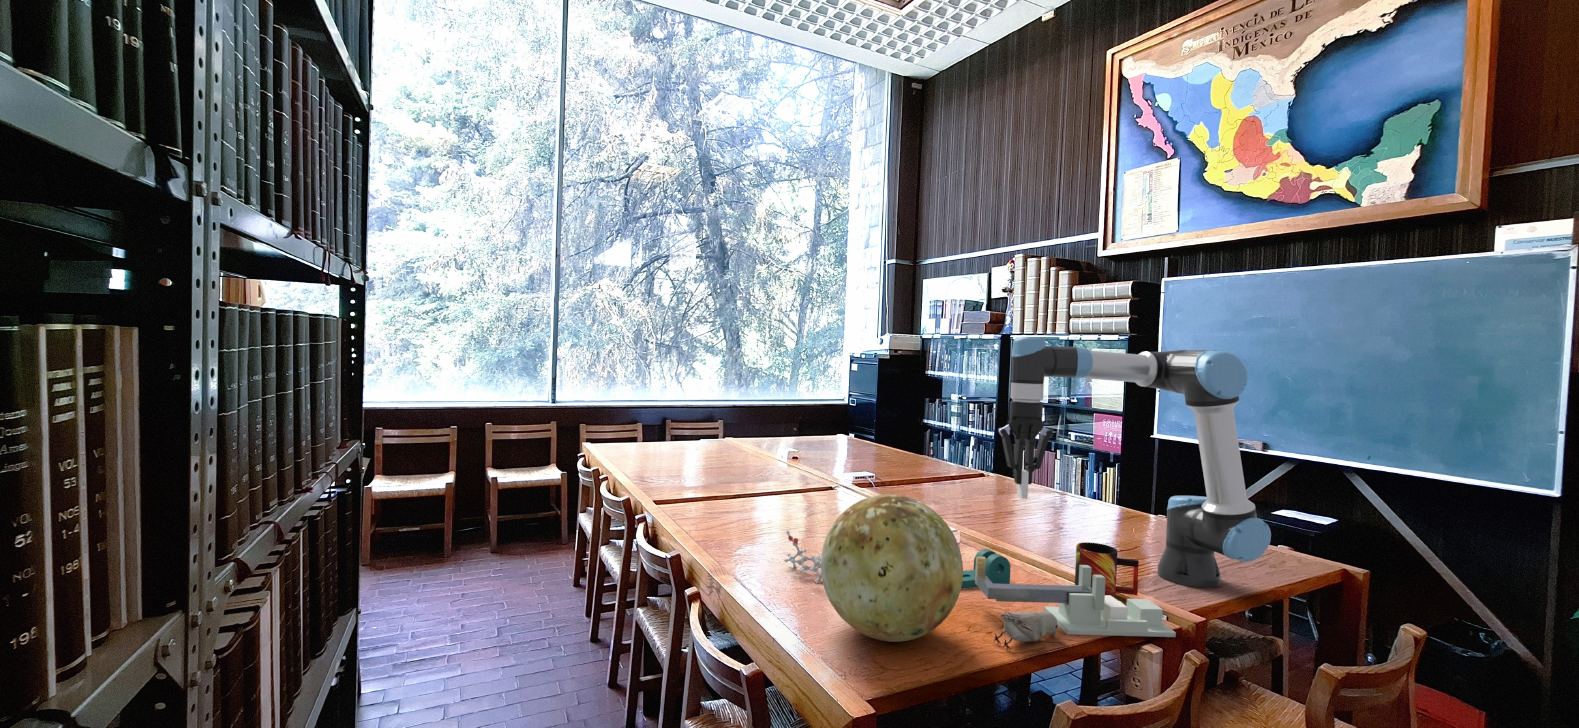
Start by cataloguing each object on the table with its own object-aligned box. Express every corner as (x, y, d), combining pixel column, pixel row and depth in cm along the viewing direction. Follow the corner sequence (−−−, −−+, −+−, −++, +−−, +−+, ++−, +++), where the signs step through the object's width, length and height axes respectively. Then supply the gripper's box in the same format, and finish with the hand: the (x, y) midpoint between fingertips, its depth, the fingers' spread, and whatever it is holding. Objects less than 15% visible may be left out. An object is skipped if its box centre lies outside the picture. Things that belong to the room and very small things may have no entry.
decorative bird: (1064, 642, 141) (1066, 607, 141) (1007, 654, 134) (1009, 618, 134) (1045, 631, 146) (1047, 598, 146) (989, 643, 139) (990, 608, 139)
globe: (862, 680, 122) (867, 519, 121) (796, 617, 149) (800, 485, 148) (990, 654, 134) (996, 508, 133) (907, 600, 161) (912, 478, 160)
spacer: (1093, 612, 155) (1109, 612, 155) (1109, 624, 148) (1126, 624, 148) (1094, 595, 155) (1110, 595, 155) (1110, 607, 148) (1127, 607, 148)
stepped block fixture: (1143, 613, 158) (1145, 563, 158) (1175, 636, 145) (1178, 583, 145) (1043, 610, 158) (1046, 560, 157) (1067, 634, 145) (1070, 580, 144)
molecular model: (845, 585, 171) (845, 548, 170) (810, 593, 167) (810, 555, 166) (811, 559, 188) (811, 525, 188) (779, 565, 184) (778, 531, 183)
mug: (1138, 599, 167) (1141, 552, 166) (1089, 602, 164) (1092, 554, 164) (1113, 585, 176) (1115, 541, 176) (1066, 587, 174) (1068, 542, 173)
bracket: (994, 576, 181) (995, 547, 181) (1009, 584, 175) (1011, 555, 175) (937, 581, 176) (938, 552, 176) (950, 590, 169) (952, 560, 169)
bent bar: (1071, 587, 160) (1072, 558, 159) (1090, 603, 150) (1092, 573, 149) (974, 585, 159) (976, 556, 159) (987, 601, 149) (989, 570, 149)
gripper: (1046, 400, 164) (1042, 494, 164) (994, 398, 163) (990, 493, 164) (1059, 402, 156) (1055, 501, 157) (1005, 401, 156) (1001, 500, 157)
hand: (1022, 497), depth 160 cm, fingers closed
